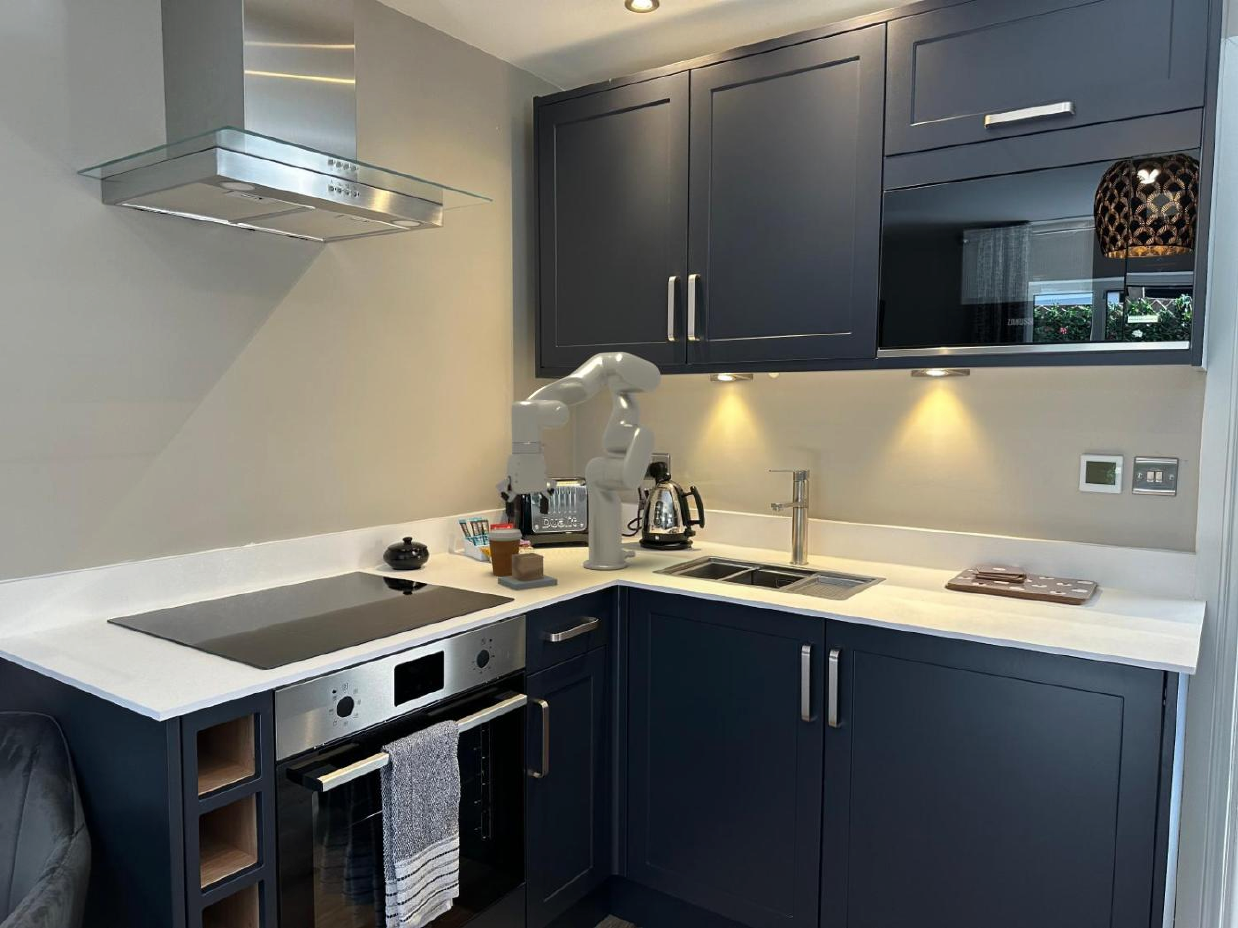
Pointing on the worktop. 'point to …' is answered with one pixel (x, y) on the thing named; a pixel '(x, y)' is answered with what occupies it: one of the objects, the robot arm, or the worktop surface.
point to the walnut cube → (527, 567)
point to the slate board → (526, 582)
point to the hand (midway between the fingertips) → (527, 515)
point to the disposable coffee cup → (503, 549)
